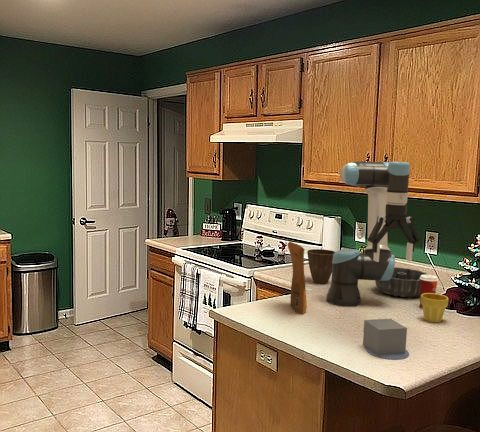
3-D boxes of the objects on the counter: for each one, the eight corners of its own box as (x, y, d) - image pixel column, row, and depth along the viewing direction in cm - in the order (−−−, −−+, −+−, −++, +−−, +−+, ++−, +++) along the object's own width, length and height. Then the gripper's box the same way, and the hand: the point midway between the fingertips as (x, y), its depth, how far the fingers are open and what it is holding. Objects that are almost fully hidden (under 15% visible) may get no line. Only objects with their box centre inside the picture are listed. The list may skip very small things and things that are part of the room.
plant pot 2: (443, 325, 204) (445, 301, 203) (416, 320, 209) (418, 296, 208) (448, 319, 213) (450, 295, 212) (422, 314, 218) (424, 291, 217)
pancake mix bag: (293, 315, 211) (296, 247, 207) (284, 302, 230) (287, 239, 226) (309, 315, 211) (312, 247, 208) (299, 302, 230) (302, 239, 227)
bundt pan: (441, 296, 249) (442, 275, 248) (406, 303, 234) (407, 282, 233) (395, 283, 270) (397, 265, 269) (361, 290, 255) (362, 270, 254)
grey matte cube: (362, 344, 181) (364, 319, 180) (389, 342, 183) (390, 318, 182) (377, 355, 171) (379, 329, 170) (405, 353, 173) (407, 328, 172)
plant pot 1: (308, 277, 277) (309, 248, 275) (336, 280, 273) (338, 250, 271) (303, 284, 263) (305, 253, 261) (333, 287, 259) (335, 255, 257)
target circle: (358, 345, 180) (358, 344, 180) (394, 342, 183) (394, 342, 183) (379, 361, 166) (379, 360, 166) (417, 358, 170) (417, 357, 170)
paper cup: (437, 310, 224) (439, 278, 222) (418, 309, 225) (421, 277, 224) (434, 305, 232) (436, 274, 230) (416, 304, 233) (418, 273, 231)
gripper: (370, 204, 184) (367, 263, 187) (432, 205, 191) (427, 262, 193) (360, 202, 192) (357, 259, 194) (420, 203, 198) (416, 257, 201)
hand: (392, 260), depth 194 cm, fingers open, 13 cm apart
